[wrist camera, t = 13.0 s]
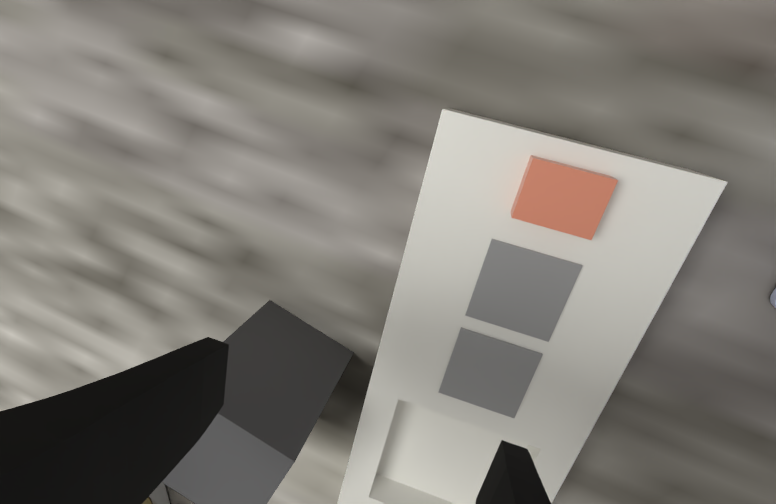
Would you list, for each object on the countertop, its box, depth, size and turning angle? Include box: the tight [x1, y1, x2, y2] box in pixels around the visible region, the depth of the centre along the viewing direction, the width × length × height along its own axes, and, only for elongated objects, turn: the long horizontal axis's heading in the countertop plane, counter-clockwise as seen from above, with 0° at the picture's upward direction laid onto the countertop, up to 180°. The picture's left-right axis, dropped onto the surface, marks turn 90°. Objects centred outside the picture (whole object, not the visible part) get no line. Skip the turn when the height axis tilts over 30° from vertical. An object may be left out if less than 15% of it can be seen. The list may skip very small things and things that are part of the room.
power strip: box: [337, 108, 727, 504], centre depth 18 cm, size 9×22×3 cm, turn 167°
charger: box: [162, 300, 354, 504], centre depth 19 cm, size 5×5×7 cm
